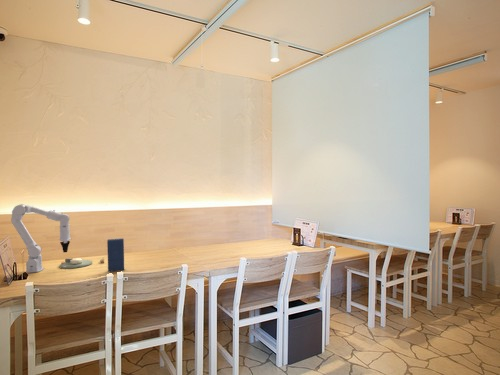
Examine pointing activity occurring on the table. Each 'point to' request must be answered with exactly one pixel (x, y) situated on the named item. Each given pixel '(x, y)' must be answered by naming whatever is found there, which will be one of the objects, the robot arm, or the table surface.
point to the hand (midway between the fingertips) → (65, 252)
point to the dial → (74, 261)
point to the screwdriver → (102, 260)
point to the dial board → (72, 266)
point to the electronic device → (115, 254)
